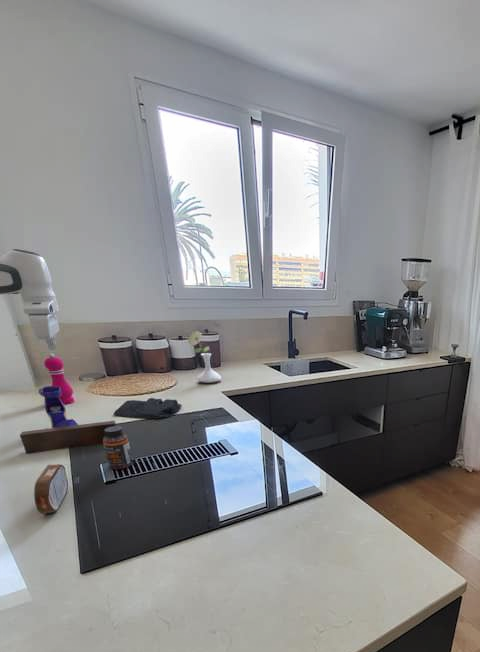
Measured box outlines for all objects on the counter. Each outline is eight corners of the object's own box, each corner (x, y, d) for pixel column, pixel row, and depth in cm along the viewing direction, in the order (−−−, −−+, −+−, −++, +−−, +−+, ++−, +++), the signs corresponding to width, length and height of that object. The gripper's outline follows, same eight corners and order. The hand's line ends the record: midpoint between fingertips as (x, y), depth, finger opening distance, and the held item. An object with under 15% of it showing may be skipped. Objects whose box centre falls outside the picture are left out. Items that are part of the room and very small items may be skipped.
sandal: (54, 446, 122) (40, 400, 116) (50, 427, 136) (37, 385, 130) (85, 440, 126) (73, 396, 120) (78, 423, 140) (67, 382, 134)
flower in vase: (215, 377, 204) (209, 328, 194) (225, 382, 197) (219, 330, 187) (190, 381, 196) (182, 330, 186) (199, 386, 189) (192, 332, 178)
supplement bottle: (105, 470, 108) (95, 433, 104) (114, 461, 114) (105, 425, 109) (129, 469, 109) (120, 432, 105) (136, 460, 115) (128, 424, 110)
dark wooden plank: (26, 453, 117) (19, 435, 114) (28, 450, 119) (21, 431, 117) (118, 440, 127) (114, 423, 125) (119, 437, 130) (114, 420, 127)
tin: (58, 488, 99) (48, 459, 96) (73, 486, 100) (64, 457, 97) (39, 521, 86) (27, 488, 83) (56, 518, 87) (45, 485, 84)
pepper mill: (51, 402, 160) (36, 353, 152) (71, 398, 166) (57, 351, 158) (58, 406, 157) (43, 355, 148) (78, 402, 162) (65, 353, 154)
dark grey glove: (135, 404, 162) (133, 392, 160) (186, 407, 160) (184, 396, 158) (109, 416, 148) (106, 404, 146) (165, 419, 146) (162, 407, 144)
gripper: (35, 303, 133) (47, 344, 139) (21, 308, 117) (35, 355, 122) (58, 303, 136) (68, 344, 142) (47, 308, 120) (60, 354, 125)
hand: (53, 349), depth 132 cm, fingers closed
